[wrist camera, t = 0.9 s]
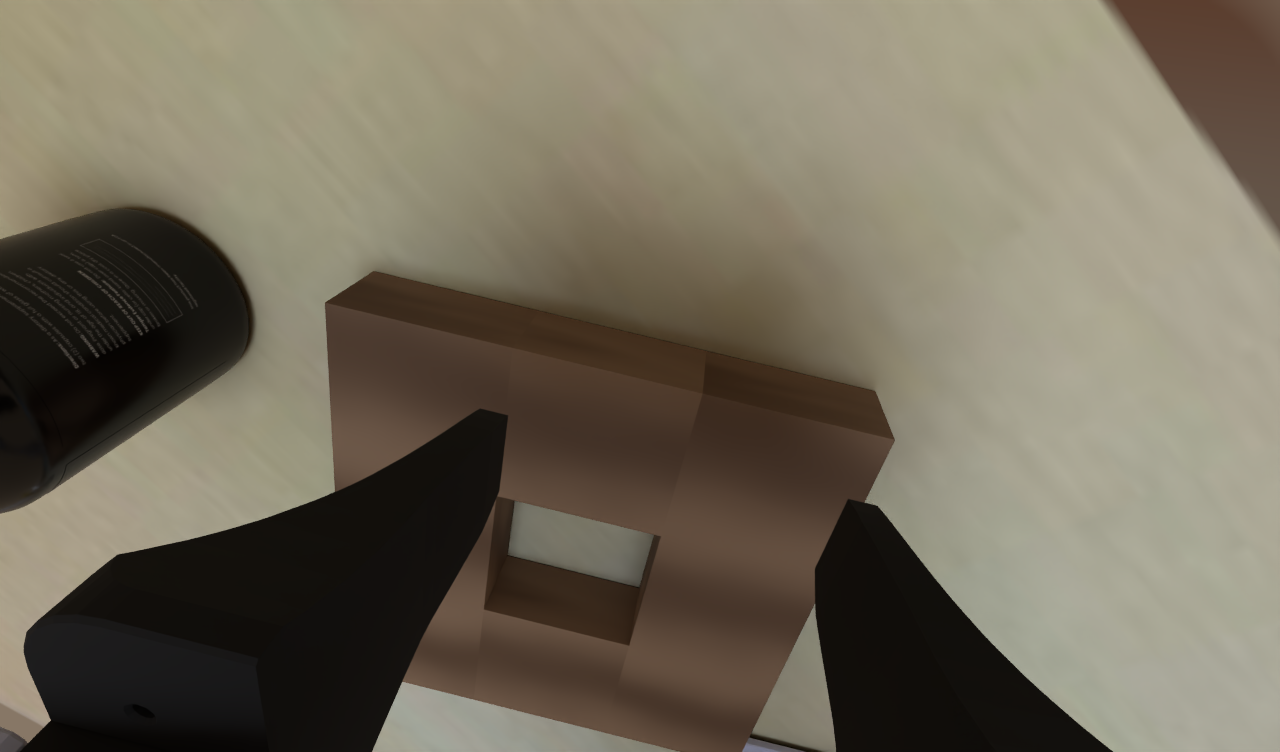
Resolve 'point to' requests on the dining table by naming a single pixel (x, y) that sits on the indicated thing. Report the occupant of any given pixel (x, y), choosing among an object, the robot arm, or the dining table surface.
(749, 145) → the dining table surface
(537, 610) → the dock block
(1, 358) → the supplement bottle
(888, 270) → the dining table surface
